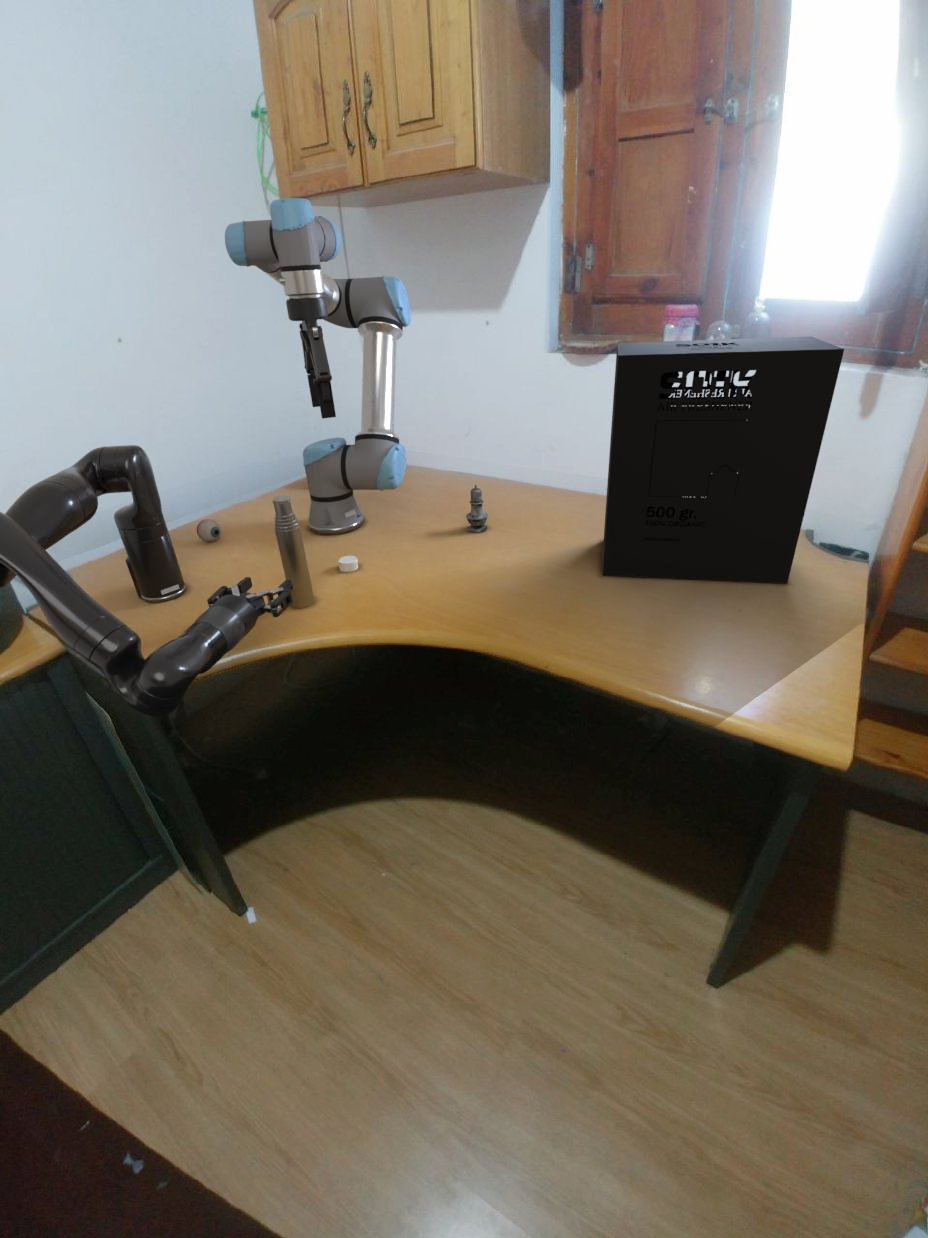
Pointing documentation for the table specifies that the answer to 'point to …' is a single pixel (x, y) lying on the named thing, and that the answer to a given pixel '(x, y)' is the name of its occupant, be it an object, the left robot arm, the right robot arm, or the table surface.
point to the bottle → (292, 552)
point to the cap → (348, 563)
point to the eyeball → (208, 530)
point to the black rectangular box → (714, 456)
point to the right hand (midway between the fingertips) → (323, 411)
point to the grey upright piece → (476, 512)
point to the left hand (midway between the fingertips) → (269, 582)
